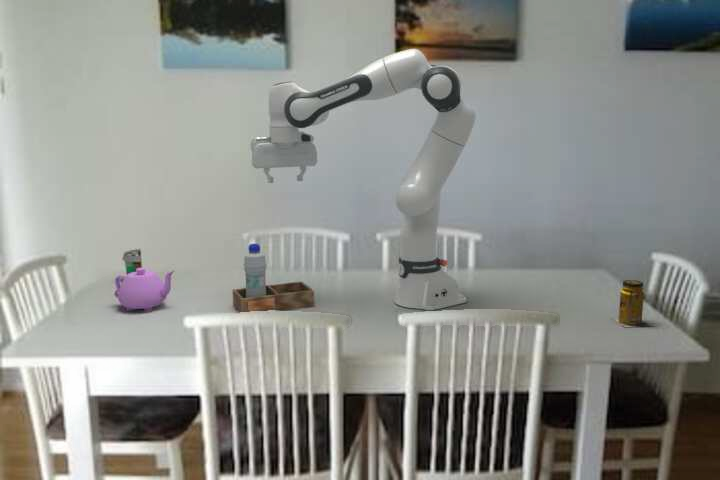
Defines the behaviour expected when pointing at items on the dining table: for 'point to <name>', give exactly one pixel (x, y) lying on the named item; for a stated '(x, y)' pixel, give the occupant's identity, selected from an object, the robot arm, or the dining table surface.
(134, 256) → the food container
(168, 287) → the teapot
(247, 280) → the bottle
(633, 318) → the condiment
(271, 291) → the crate
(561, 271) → the dining table surface
